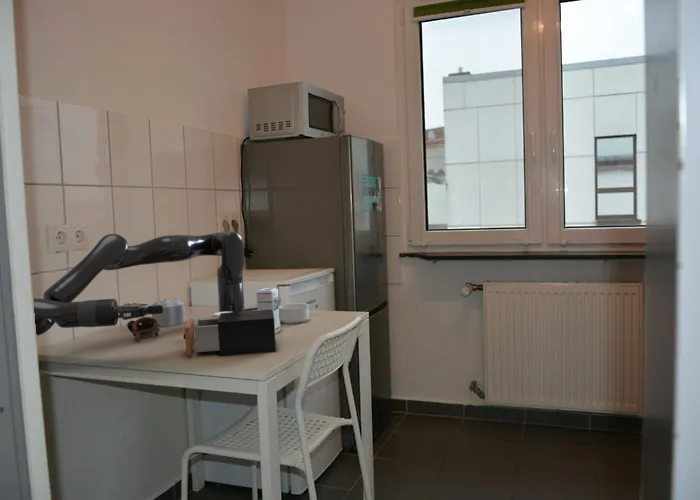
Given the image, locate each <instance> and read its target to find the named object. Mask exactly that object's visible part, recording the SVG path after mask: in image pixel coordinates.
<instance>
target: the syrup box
mask: <svg viewBox="0 0 700 500" xmlns="http://www.w3.org/2000/svg"><path fill="white" fill-rule="evenodd" d="M255 293H256V294H255V295H256V306H257V311H258V310H272V311H273V316H274V327H275V335H276V333H278V332H279V331H281V329H282V327H281V321H280V312H279V306H280V300H279V288H278V287H266V288H261V289H259V290H257V291H256V292H255Z"/></svg>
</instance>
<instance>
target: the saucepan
mask: <svg viewBox="0 0 700 500" xmlns="http://www.w3.org/2000/svg"><path fill="white" fill-rule="evenodd" d="M315 302H317V299H311V300H308V301H306V302H304V303H303V302H295V303H284V304H279V312H280V322H282V324H289V325H291V324H293V325H294V324H301V323H305V322H306V321H308V320H309V319H310V311H309V307H310V304H313V303H315Z"/></svg>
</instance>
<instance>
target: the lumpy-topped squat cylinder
mask: <svg viewBox="0 0 700 500" xmlns="http://www.w3.org/2000/svg"><path fill="white" fill-rule="evenodd" d="M154 305H162V306H163V312H162V313H161V314H151V317H152V318H154V319H156V320H157V323H158V324H159V325H160V326H159V327H161V328H166V327H167V328H168V327H172V326H173V327H174V326H178V325H183V324H185V323H186V311H185V303H184V302H182V301H180V299H179V298H173V299H169V298H164V299H163V300H162V299H157V300H156V301H154V302H153V303H152V304H151V306H154Z"/></svg>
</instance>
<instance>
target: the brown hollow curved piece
mask: <svg viewBox="0 0 700 500" xmlns="http://www.w3.org/2000/svg"><path fill="white" fill-rule="evenodd" d="M126 327H127V329H128V330H129V331H130V332H131V334H132V335H133V337H134V341H135V342H137V343H140V341H141V340H144V339H148V338H150V337H153V336H156V337H158V336H159V332H161V330H160V328H159V327H160V325H159V324H158V323H157V320H156V319H154V318H152V316H144V317H138V318H136V320H128V322H127V323H126Z"/></svg>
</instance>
